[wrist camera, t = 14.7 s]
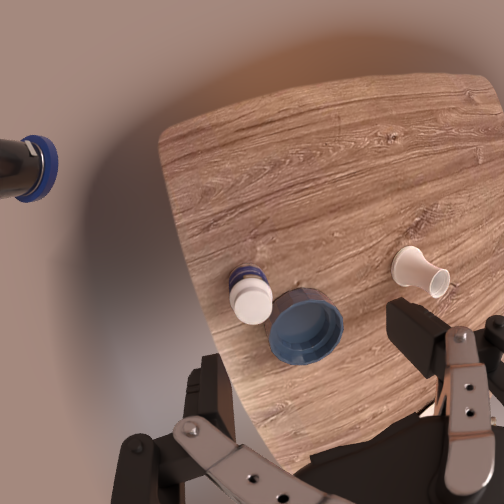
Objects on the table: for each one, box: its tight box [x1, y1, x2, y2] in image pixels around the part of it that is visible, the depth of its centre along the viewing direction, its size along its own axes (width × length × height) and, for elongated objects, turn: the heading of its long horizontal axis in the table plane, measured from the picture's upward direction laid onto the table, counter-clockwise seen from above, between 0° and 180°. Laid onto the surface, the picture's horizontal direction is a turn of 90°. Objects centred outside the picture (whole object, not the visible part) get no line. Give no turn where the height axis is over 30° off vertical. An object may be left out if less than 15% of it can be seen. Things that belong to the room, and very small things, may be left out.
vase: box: [391, 246, 450, 298], centre depth 40 cm, size 8×8×10 cm
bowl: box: [264, 288, 344, 365], centre depth 43 cm, size 12×12×5 cm
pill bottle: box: [229, 264, 272, 325], centre depth 38 cm, size 6×6×10 cm
